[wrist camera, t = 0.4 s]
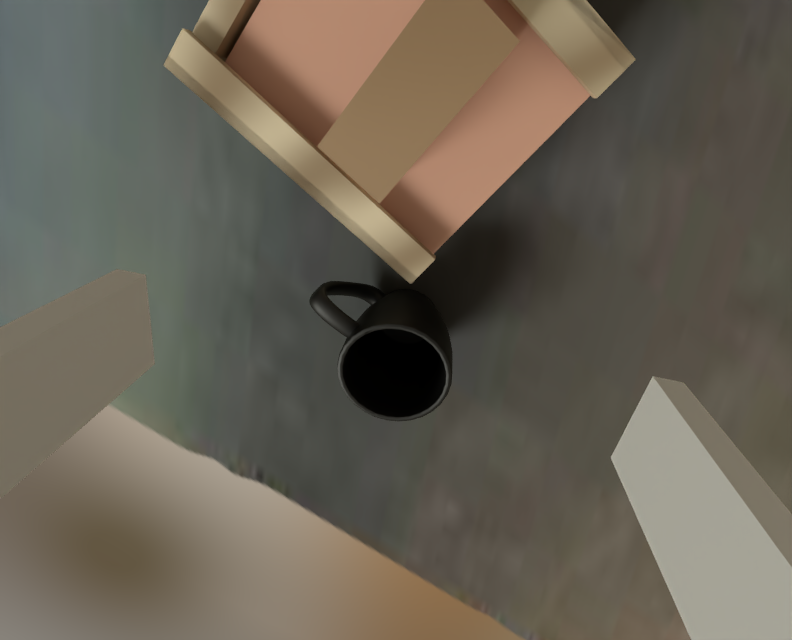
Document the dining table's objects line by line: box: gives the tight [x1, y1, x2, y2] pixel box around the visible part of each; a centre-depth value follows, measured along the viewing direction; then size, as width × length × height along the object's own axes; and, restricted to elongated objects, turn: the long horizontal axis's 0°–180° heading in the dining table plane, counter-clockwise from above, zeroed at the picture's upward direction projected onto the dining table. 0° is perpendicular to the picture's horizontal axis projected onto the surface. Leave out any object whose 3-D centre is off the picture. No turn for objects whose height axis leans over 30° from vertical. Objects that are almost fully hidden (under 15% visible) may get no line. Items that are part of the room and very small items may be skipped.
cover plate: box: [225, 0, 590, 254], centre depth 21 cm, size 16×14×9 cm
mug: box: [310, 281, 452, 421], centre depth 35 cm, size 8×12×10 cm
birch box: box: [164, 0, 636, 284], centre depth 27 cm, size 18×16×10 cm
